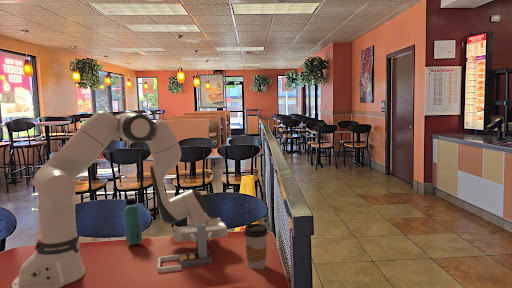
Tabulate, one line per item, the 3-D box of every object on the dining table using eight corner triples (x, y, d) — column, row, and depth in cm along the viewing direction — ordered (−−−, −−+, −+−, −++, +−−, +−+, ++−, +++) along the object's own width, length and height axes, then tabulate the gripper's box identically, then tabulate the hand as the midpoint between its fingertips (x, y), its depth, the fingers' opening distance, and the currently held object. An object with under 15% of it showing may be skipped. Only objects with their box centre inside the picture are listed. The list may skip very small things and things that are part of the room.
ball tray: (157, 275, 135) (157, 268, 134) (158, 263, 144) (158, 256, 144) (181, 272, 136) (180, 265, 136) (180, 260, 146) (180, 254, 146)
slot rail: (181, 270, 138) (180, 262, 138) (180, 261, 145) (180, 254, 145) (211, 266, 140) (211, 258, 140) (209, 258, 147) (209, 250, 147)
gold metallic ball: (188, 264, 141) (179, 264, 140) (187, 261, 144) (179, 261, 143) (188, 256, 140) (180, 256, 140) (188, 253, 143) (180, 253, 143)
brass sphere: (196, 263, 141) (188, 263, 141) (196, 259, 144) (188, 260, 144) (196, 255, 141) (188, 255, 140) (196, 252, 144) (188, 252, 143)
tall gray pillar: (199, 261, 141) (197, 227, 139) (198, 257, 145) (196, 223, 143) (207, 260, 141) (205, 226, 140) (206, 256, 145) (204, 222, 144)
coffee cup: (240, 268, 138) (238, 227, 136) (256, 260, 144) (254, 221, 142) (257, 275, 133) (256, 233, 131) (273, 266, 139) (272, 226, 137)
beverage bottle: (137, 248, 159) (134, 201, 157) (123, 247, 161) (119, 200, 158) (145, 242, 166) (142, 196, 163) (131, 241, 167) (127, 196, 164)
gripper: (172, 222, 152) (172, 234, 139) (224, 217, 156) (229, 228, 143) (173, 237, 153) (173, 251, 139) (224, 232, 157) (229, 245, 144)
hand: (202, 239), depth 141 cm, fingers closed on tall gray pillar, 3 cm apart
